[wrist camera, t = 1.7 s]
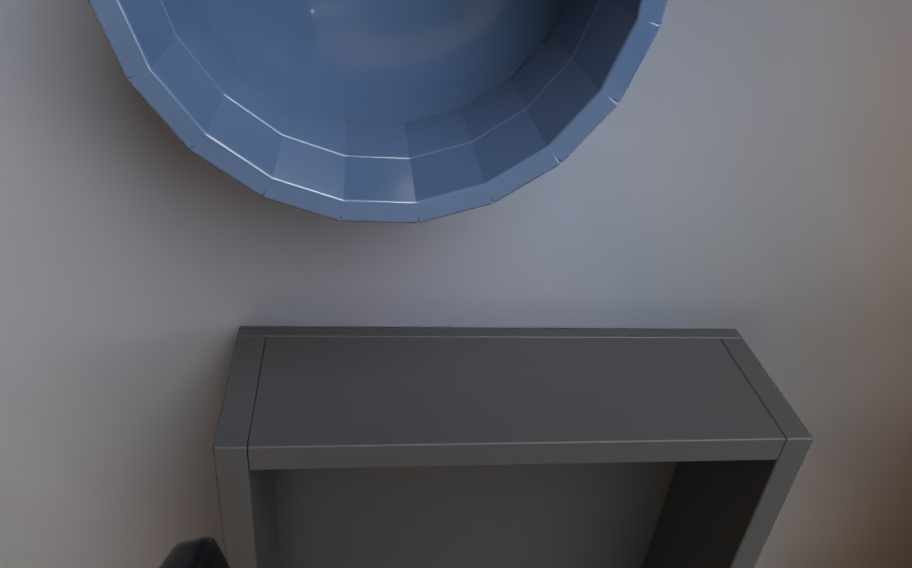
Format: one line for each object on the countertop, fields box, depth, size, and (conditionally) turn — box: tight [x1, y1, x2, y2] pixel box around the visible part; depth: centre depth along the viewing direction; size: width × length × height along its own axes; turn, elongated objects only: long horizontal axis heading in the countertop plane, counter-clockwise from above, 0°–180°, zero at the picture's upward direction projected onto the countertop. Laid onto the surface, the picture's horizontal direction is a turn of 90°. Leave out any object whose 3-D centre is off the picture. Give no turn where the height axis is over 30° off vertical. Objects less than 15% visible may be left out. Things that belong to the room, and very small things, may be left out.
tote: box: [213, 327, 813, 568], centre depth 25 cm, size 16×16×5 cm
